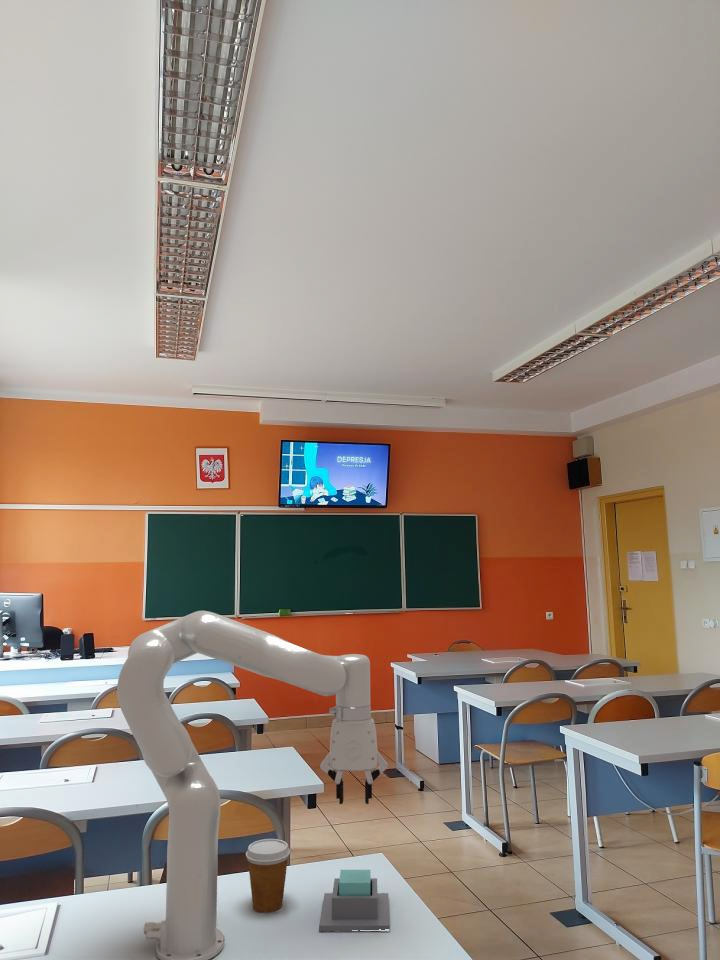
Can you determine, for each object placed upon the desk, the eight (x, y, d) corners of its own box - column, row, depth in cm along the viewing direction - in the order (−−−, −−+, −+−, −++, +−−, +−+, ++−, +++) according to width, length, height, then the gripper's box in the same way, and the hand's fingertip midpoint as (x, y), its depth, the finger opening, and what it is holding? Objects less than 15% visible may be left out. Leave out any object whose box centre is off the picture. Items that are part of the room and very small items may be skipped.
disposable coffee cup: (295, 911, 143) (295, 850, 145) (250, 920, 140) (251, 857, 142) (283, 892, 152) (283, 835, 154) (241, 900, 149) (241, 841, 150)
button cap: (339, 903, 139) (338, 882, 140) (340, 889, 145) (340, 869, 146) (370, 903, 139) (370, 882, 139) (370, 889, 145) (370, 869, 146)
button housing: (319, 932, 135) (318, 903, 136) (324, 899, 149) (324, 873, 149) (389, 932, 134) (389, 903, 135) (388, 899, 148) (388, 873, 149)
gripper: (312, 717, 144) (312, 808, 141) (393, 716, 143) (394, 807, 141) (315, 710, 151) (316, 796, 149) (392, 709, 151) (393, 796, 148)
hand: (354, 801), depth 145 cm, fingers open, 4 cm apart
